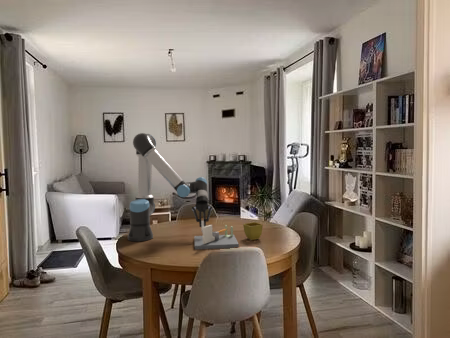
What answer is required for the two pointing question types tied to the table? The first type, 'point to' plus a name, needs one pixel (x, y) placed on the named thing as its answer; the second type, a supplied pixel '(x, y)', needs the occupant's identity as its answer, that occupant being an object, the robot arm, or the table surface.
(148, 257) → the table surface
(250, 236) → the flower pot
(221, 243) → the lever toy board
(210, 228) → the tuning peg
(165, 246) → the table surface
